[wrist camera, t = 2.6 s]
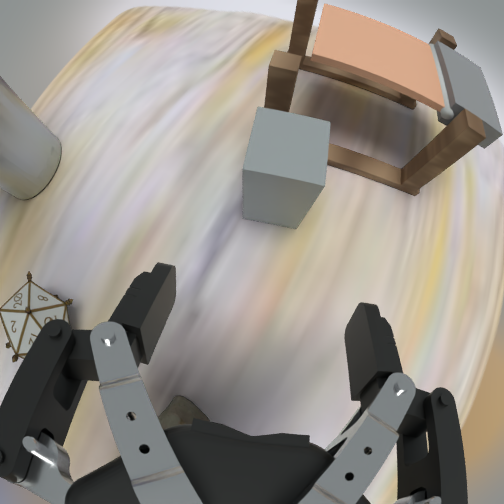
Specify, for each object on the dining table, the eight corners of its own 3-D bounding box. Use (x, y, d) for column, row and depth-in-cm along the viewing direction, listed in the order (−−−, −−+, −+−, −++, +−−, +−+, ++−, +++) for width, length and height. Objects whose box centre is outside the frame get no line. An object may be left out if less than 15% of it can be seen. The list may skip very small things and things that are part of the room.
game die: (63, 320, 27) (-9, 290, 20) (97, 283, 25) (12, 240, 18) (66, 392, 22) (-20, 367, 14) (102, 366, 20) (-8, 331, 12)
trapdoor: (307, 72, 19) (314, 45, 16) (321, 15, 21) (326, -6, 18) (484, 151, 19) (503, 137, 16) (467, 80, 20) (479, 66, 18)
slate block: (242, 218, 26) (242, 168, 17) (252, 170, 27) (257, 106, 17) (296, 229, 26) (324, 185, 17) (303, 180, 27) (330, 122, 17)
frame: (257, 145, 28) (266, 48, 15) (286, 56, 31) (300, -23, 18) (414, 196, 27) (490, 140, 15) (412, 99, 30) (456, 38, 18)
